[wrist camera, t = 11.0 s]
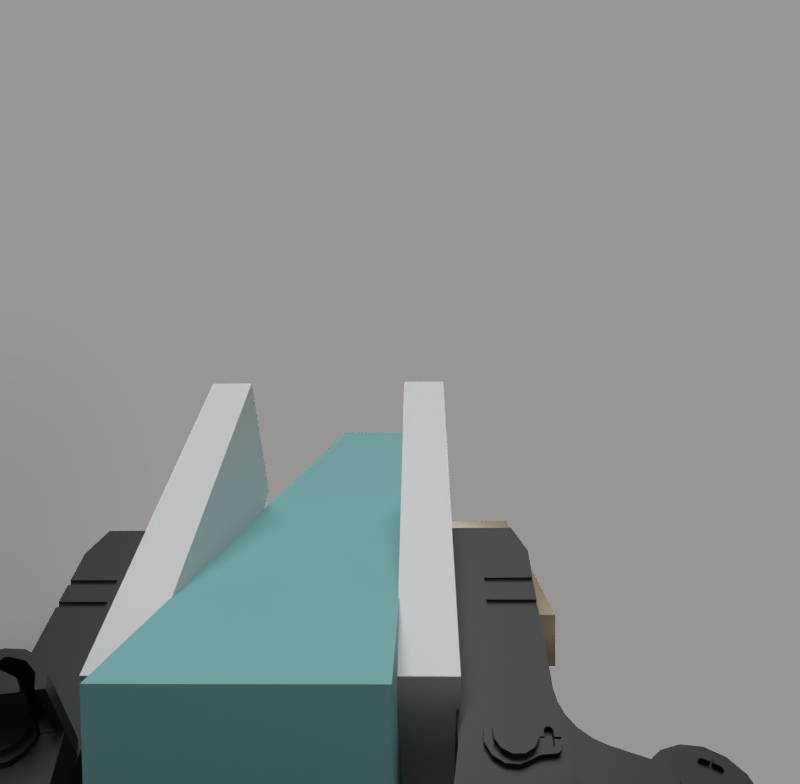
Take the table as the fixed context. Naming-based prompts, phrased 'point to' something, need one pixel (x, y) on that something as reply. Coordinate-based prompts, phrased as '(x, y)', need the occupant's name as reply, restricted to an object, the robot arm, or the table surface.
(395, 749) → the teal slat
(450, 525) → the robot arm
